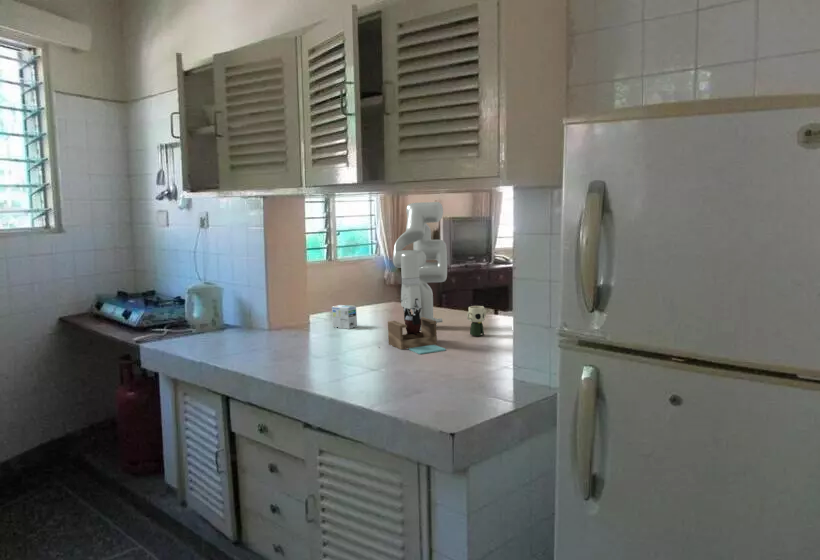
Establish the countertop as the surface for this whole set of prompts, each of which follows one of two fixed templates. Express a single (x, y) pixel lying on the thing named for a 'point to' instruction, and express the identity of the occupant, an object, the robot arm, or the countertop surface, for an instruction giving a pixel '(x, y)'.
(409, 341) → the walnut box
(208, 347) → the countertop surface
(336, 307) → the light bulb box
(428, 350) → the teal mat
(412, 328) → the mate gourd
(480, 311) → the character mug
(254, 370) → the countertop surface
